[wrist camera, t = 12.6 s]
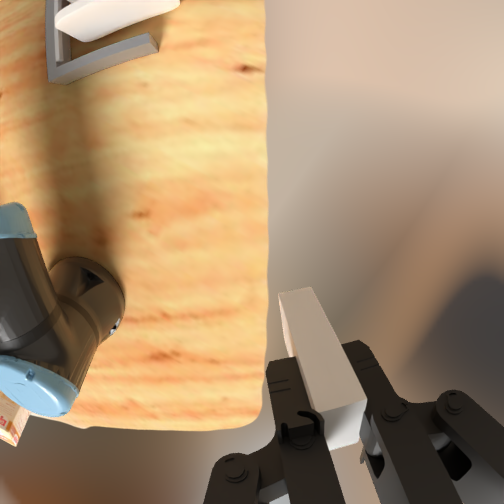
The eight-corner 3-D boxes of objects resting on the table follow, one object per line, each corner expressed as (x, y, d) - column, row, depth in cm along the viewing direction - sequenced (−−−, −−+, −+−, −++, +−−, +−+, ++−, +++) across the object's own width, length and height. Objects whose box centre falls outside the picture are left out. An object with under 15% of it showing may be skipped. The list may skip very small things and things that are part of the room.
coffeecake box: (-2, 365, 50) (-34, 418, 32) (-8, 346, 48) (-44, 400, 30) (43, 387, 53) (16, 448, 35) (39, 369, 51) (7, 432, 33)
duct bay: (65, 85, 31) (48, 81, 27) (61, -20, 23) (48, -30, 18) (158, 52, 32) (150, 42, 27) (146, -53, 23) (139, -68, 19)
